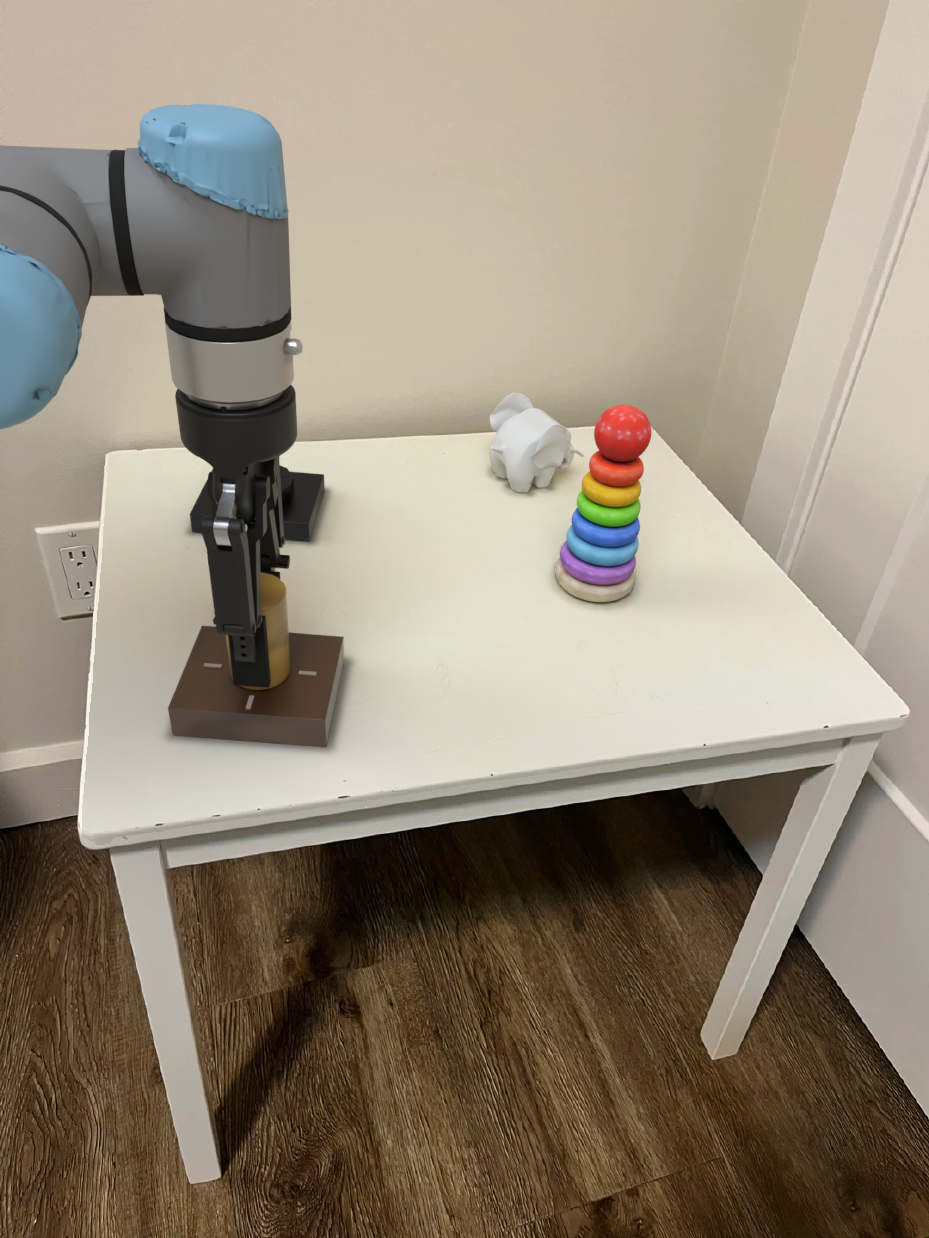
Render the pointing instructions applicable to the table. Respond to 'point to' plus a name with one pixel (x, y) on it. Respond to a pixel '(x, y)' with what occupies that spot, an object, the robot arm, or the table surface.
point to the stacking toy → (607, 511)
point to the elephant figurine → (528, 444)
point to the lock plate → (259, 694)
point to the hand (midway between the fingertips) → (259, 659)
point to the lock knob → (273, 629)
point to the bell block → (297, 504)
